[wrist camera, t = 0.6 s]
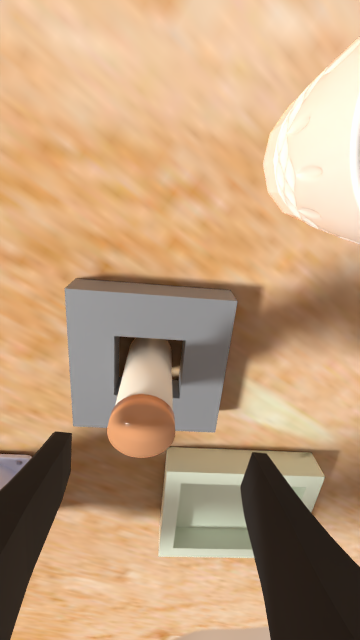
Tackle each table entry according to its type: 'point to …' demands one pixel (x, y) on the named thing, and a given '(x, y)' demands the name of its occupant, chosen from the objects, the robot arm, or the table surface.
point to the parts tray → (220, 499)
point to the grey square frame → (147, 322)
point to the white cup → (321, 151)
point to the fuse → (144, 401)
